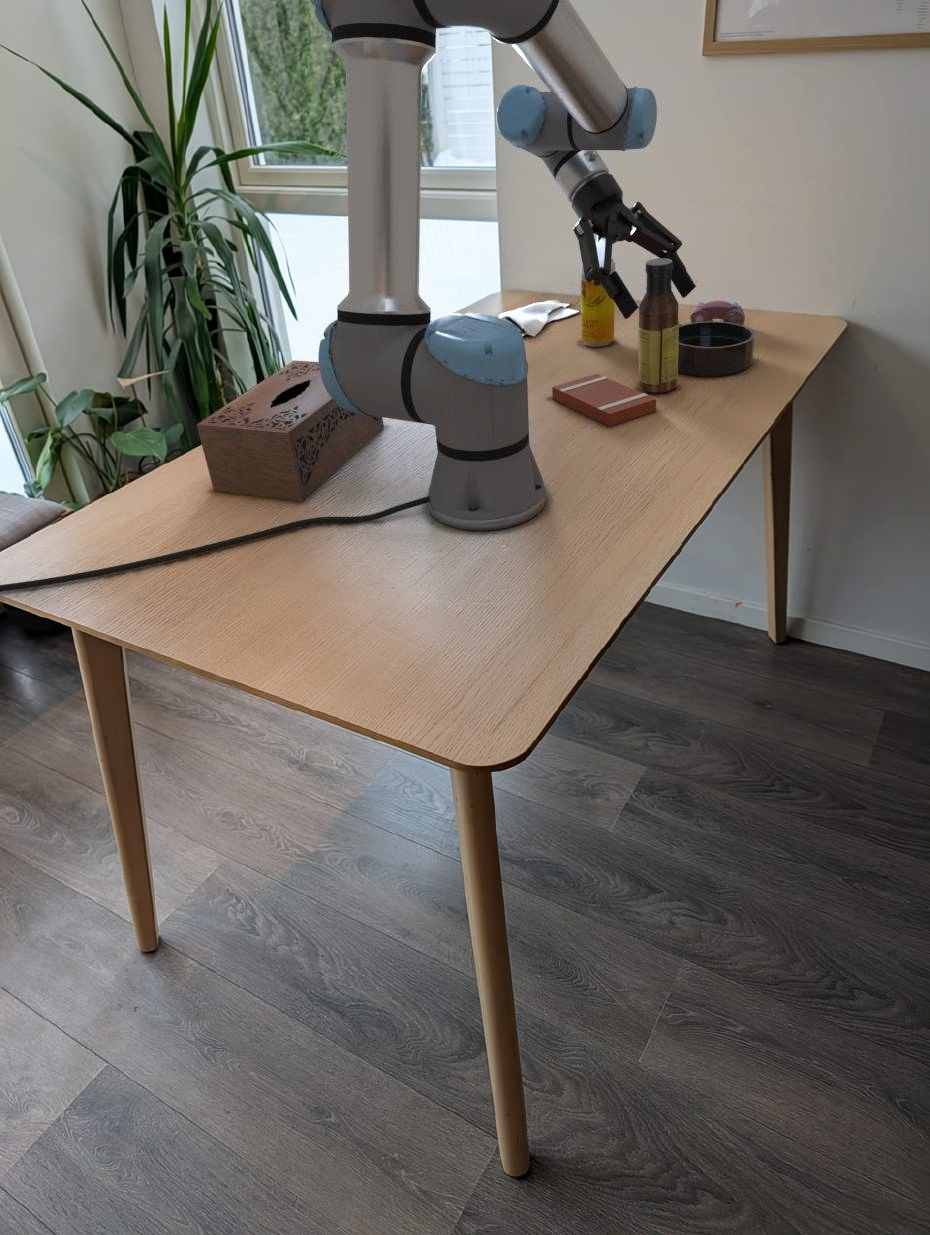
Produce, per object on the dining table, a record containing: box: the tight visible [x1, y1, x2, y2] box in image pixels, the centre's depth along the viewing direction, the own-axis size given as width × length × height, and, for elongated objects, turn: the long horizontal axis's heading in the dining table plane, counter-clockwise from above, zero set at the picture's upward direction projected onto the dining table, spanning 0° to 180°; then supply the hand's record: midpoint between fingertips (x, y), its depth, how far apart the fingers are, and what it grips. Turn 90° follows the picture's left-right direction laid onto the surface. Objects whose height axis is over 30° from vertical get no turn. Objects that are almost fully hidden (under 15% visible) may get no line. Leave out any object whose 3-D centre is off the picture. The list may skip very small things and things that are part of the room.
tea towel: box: [551, 373, 657, 427], centre depth 141 cm, size 9×15×2 cm, turn 30°
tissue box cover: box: [196, 360, 385, 503], centre depth 131 cm, size 26×14×10 cm, turn 158°
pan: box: [678, 320, 756, 377], centre depth 151 cm, size 14×14×5 cm
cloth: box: [498, 299, 580, 338], centre depth 180 cm, size 26×14×2 cm, turn 142°
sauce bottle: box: [637, 257, 680, 394], centre depth 140 cm, size 7×6×20 cm
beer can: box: [580, 256, 616, 348], centre depth 162 cm, size 6×6×15 cm
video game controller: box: [689, 300, 746, 326], centre depth 165 cm, size 10×5×7 cm, turn 73°
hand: (661, 302), depth 137 cm, fingers open, 13 cm apart
